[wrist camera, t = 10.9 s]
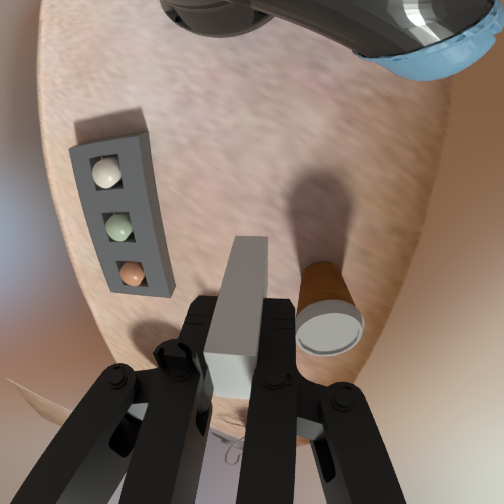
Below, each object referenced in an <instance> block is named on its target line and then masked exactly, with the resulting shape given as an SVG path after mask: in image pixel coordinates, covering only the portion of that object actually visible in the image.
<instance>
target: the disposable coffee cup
mask: <svg viewBox="0 0 504 504" xmlns="http://www.w3.org/2000/svg"><path fill="white" fill-rule="evenodd" d="M295 326H296V329H295V330H296V342H297V345H298V346H299V347H300V349H301V350H303V351H304V352H306V353H308V354H311V355H314V356H334V355H338V354H341V353H343V352H346V351H348V350H349V349H351V348H352V347H354V346H355V345H356V344H357V343H358V341H359V340H360V338H361V336H362V331H363V328H364V318H363V316H362V314H361V312H360V311H359V310H358V309H357V308H356V306H355V304H354V302H353V299H352V297H351V295H350V293H349V290H348V288H347V286H346V284H345V281H344V279H343V277H342V275H341V272H340V270H339V269H338V268H337V267H336V266H335V265H334V264H332V263H329V262H318V263H314V264H312V265H310V266H309V267H307V268H306V269H305V271H304V272H303V274H302V278H301V285H300V293H299V300H298V307H297V314H296V319H295Z"/></svg>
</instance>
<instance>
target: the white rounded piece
mask: <svg viewBox="0 0 504 504" xmlns="http://www.w3.org/2000/svg"><path fill="white" fill-rule="evenodd" d="M92 176H93V179H94V181H95V183H96V184H97V185H98V186H100V187H102V188H110V187H111V186H113V185H114V184H115V183H117V182H118V181H119V180H121V179H122V176H121V171H120V165H119V159H118V154H113V155H109V156H107V157H106V158H104V159H102V160H100V161H99V162H97V163H96V164H95V165H94V167H93V170H92Z"/></svg>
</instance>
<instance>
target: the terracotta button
mask: <svg viewBox="0 0 504 504" xmlns="http://www.w3.org/2000/svg"><path fill="white" fill-rule="evenodd" d="M120 276H121V278H122V280H123V281H124V282H125V283H127V284H129V285H131V286H138V285H139V284H140V283H141V282H142V280H143V278H144V277H145V273H144V269H143V265H142V262H131V261H126V262H125V264H124V265H123V266H122V268H121V269H120Z"/></svg>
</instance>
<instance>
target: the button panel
mask: <svg viewBox="0 0 504 504" xmlns="http://www.w3.org/2000/svg"><path fill="white" fill-rule="evenodd" d="M69 153H70V158H71V163H72V168H73V172H74V177H75V181H76V185H77V189H78V193H79V197H80V201H81V205H82V209H83V212H84V216H85V219H86V223H87V226H88V229H89V233H90V236H91V239H92V242H93V245H94V248H95V251H96V254H97V257H98V260H99V263H100V266H101V268H102V271H103V274H104V277H105V279H106V282H107V284H108V287H109V290H110V292H114V293H123V294H133V295H143V296H154V297H165V298H171V296H172V294H173V292H174V290H175V287H176V284H175V280H174V276H173V271H172V267H171V263H170V258H169V253H168V248H167V244H166V239H165V234H164V229H163V223H162V218H161V213H160V207H159V201H158V195H157V189H156V183H155V177H154V170H153V163H152V156H151V149H150V141H149V132H140V133H133V134H127V135H120V136H114V137H109V138H103V139H98V140H93V141H88V142H83V143H79V144H77V145H75V146H73V147H71V148H69ZM113 154H118V159H119V165H120V171H121V176H122V181H123V182H117V183H115V184H114V185H113V186H111V187H110V188H102V187H100V186H98V185H97V184H96V183H95V181H94V179H93V176H92V170H93V167H94V165H95V164H96V163H97V162H99V161H100V160H101V156H106V155H113ZM114 212H129V214H130V219H131V223H132V227H133V231H134V232H132V233H131V234H130V235H129V236H128V237H127V239H126V240H124V241H115V240H113V239H112V238H111V237H110V236H109V235H108V233H107V231H106V228H105V225H106V222H107V220H108V219H109V218H110V217H111V216H112V215H113V213H114ZM126 261H131V262H142V265H143V269H144V273H145V277H144V278H143V280H142V282H141V283H140V284H139V285H138V286H131V285H129V284H127V283H125V282H124V281H123V280H122V278H121V276H120V269H121V268H122V266H123V265H124V264H125V262H126Z"/></svg>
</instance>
